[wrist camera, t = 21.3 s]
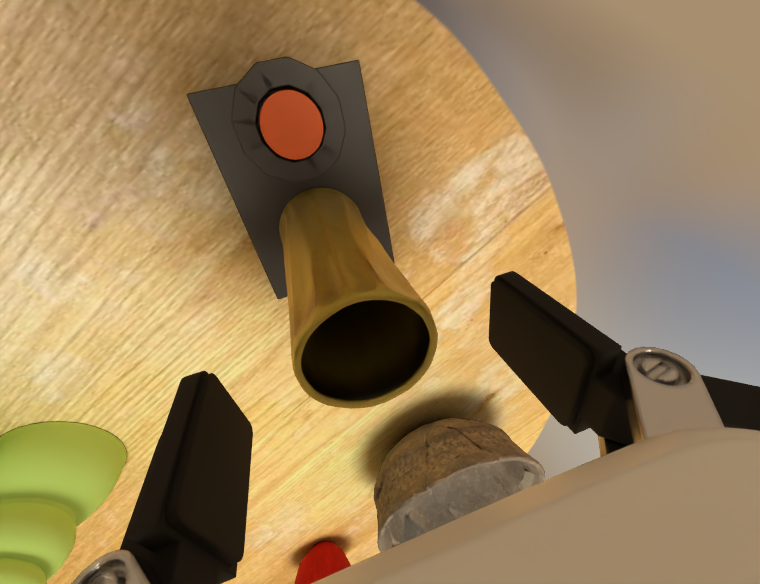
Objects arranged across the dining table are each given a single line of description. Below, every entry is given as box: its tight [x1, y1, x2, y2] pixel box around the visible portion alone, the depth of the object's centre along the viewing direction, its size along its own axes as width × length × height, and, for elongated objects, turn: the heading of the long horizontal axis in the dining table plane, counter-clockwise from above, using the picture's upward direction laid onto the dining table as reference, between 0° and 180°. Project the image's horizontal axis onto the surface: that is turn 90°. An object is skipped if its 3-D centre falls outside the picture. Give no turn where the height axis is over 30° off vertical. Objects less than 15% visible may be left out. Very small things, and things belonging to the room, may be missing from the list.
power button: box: [260, 90, 323, 160], centre depth 17 cm, size 3×3×2 cm
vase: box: [279, 188, 438, 408], centre depth 16 cm, size 6×6×14 cm
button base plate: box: [187, 57, 395, 299], centre depth 21 cm, size 15×10×3 cm
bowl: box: [374, 418, 545, 552], centre depth 38 cm, size 21×21×10 cm
